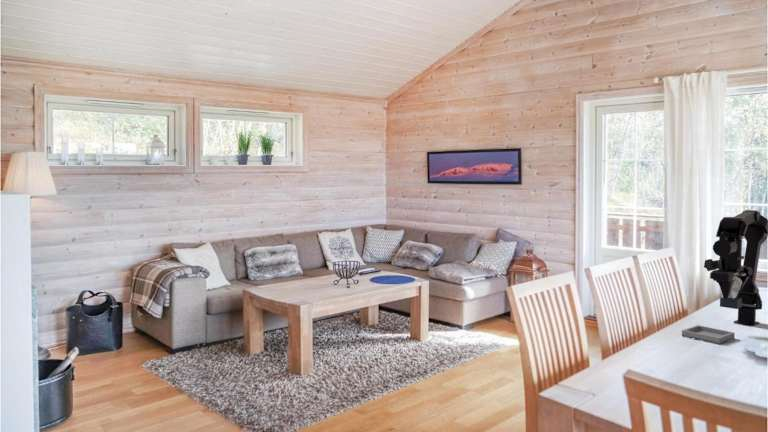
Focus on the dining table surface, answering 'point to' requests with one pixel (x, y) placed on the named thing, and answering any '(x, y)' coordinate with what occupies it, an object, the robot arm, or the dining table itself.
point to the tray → (708, 334)
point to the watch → (733, 296)
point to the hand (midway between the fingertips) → (730, 296)
